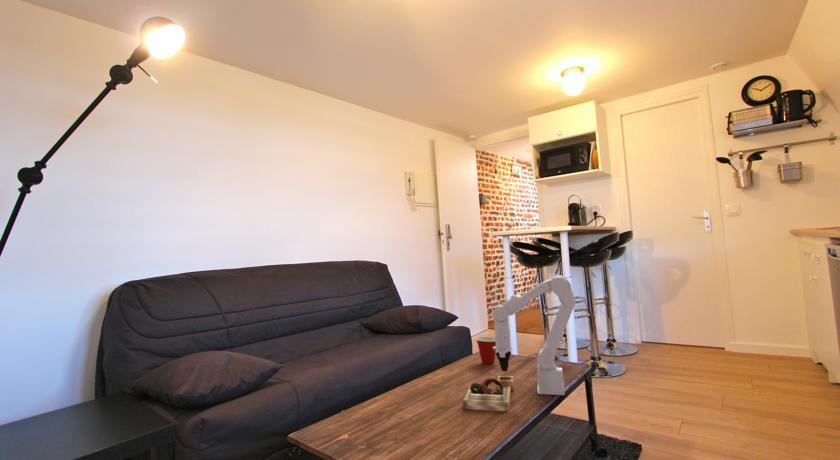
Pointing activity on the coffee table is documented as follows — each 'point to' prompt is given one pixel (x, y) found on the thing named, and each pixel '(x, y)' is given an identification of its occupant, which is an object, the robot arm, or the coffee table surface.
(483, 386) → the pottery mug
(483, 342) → the plastic cup
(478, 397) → the pull frame
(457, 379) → the coffee table surface
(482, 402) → the frame
